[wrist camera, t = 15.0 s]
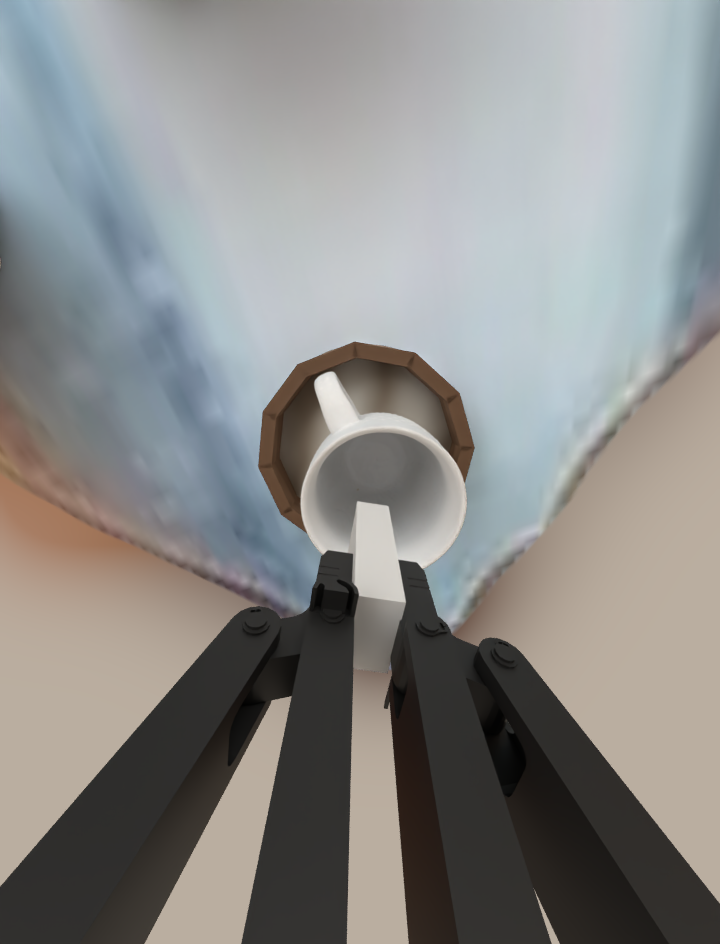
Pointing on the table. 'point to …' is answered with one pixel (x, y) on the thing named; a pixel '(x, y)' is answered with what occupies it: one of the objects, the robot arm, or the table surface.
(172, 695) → the robot arm
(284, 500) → the holder
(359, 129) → the table surface
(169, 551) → the table surface
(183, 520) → the table surface
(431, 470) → the mug
